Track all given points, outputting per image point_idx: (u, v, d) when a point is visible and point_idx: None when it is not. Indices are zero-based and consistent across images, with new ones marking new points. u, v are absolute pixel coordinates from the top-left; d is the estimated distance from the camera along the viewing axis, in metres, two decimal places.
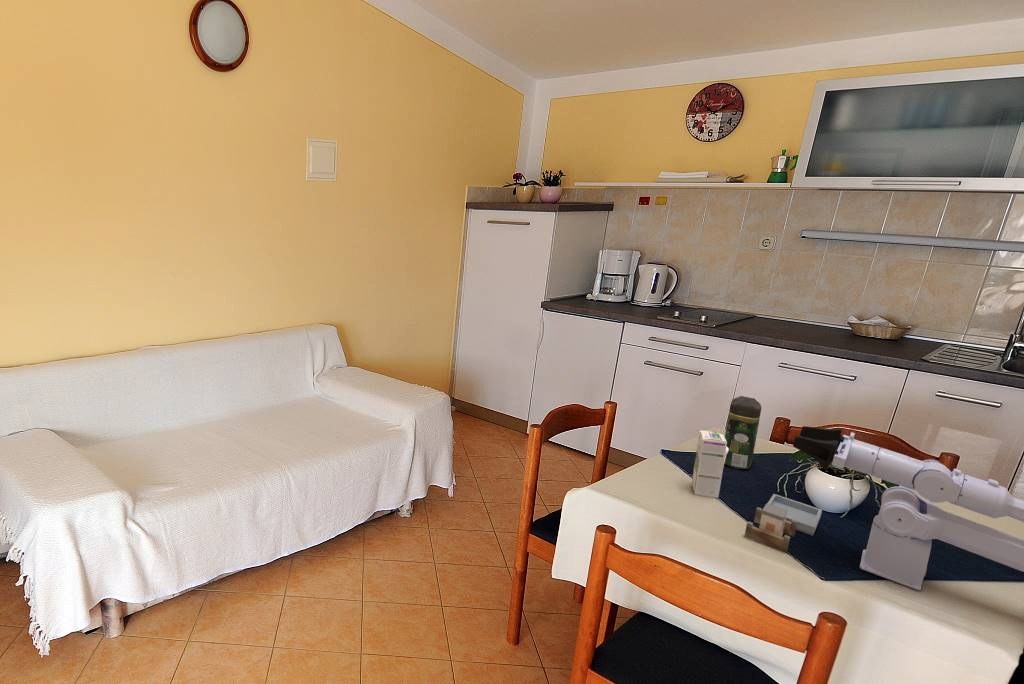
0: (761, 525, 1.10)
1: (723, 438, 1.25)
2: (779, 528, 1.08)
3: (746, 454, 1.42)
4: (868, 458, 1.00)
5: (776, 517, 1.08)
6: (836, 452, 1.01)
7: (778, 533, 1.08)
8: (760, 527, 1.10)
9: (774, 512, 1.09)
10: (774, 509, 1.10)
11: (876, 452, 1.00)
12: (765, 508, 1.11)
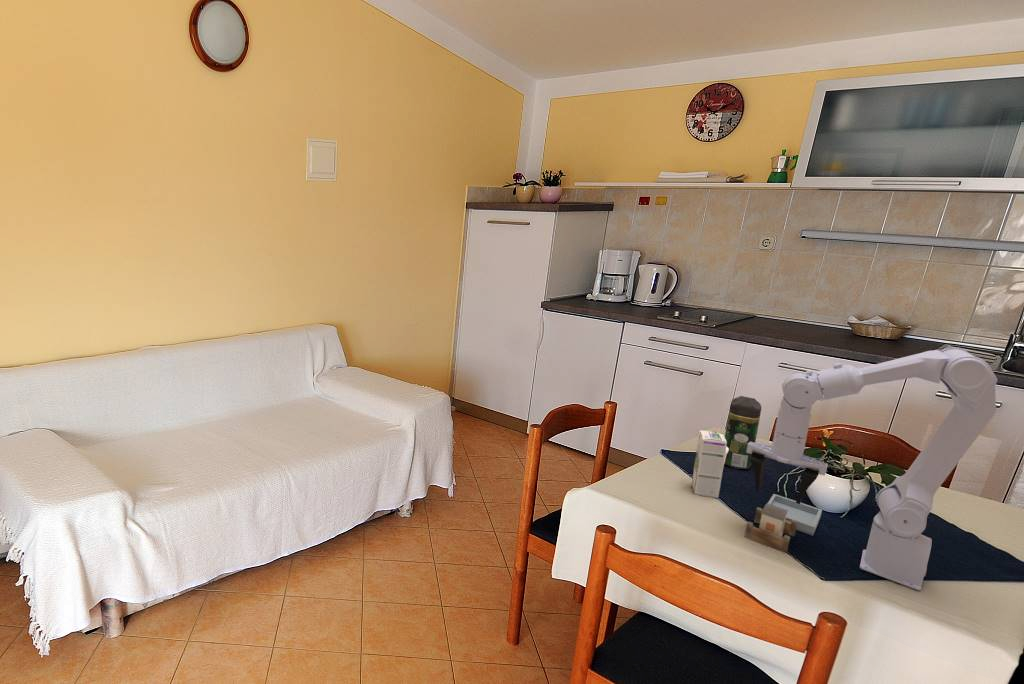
0: (761, 525, 1.10)
1: (723, 438, 1.25)
2: (779, 528, 1.08)
3: (746, 454, 1.42)
4: (803, 443, 1.04)
5: (776, 517, 1.08)
6: (810, 470, 1.04)
7: (778, 533, 1.08)
8: (760, 527, 1.10)
9: (774, 512, 1.09)
10: (774, 509, 1.10)
11: (797, 439, 1.04)
12: (765, 508, 1.11)
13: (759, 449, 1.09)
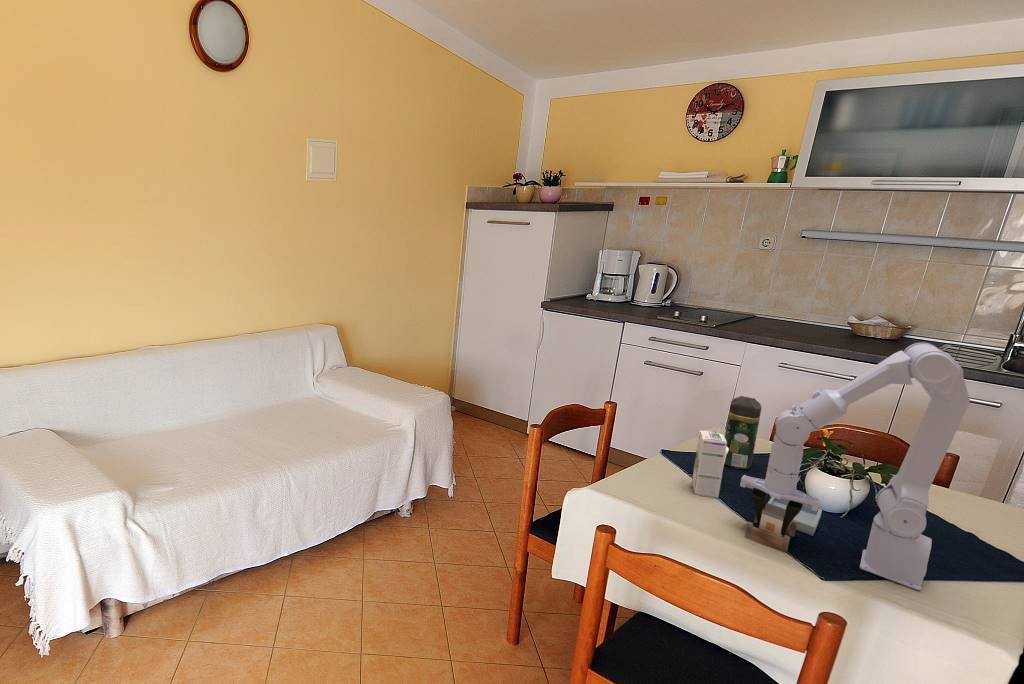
0: (761, 525, 1.10)
1: (723, 438, 1.25)
2: (779, 528, 1.08)
3: (746, 454, 1.42)
4: (795, 479, 1.06)
5: (776, 517, 1.08)
6: (802, 506, 1.06)
7: (778, 533, 1.08)
8: (760, 527, 1.10)
9: (774, 512, 1.09)
10: (774, 509, 1.10)
11: (789, 475, 1.05)
12: (765, 507, 1.11)
13: (752, 483, 1.11)
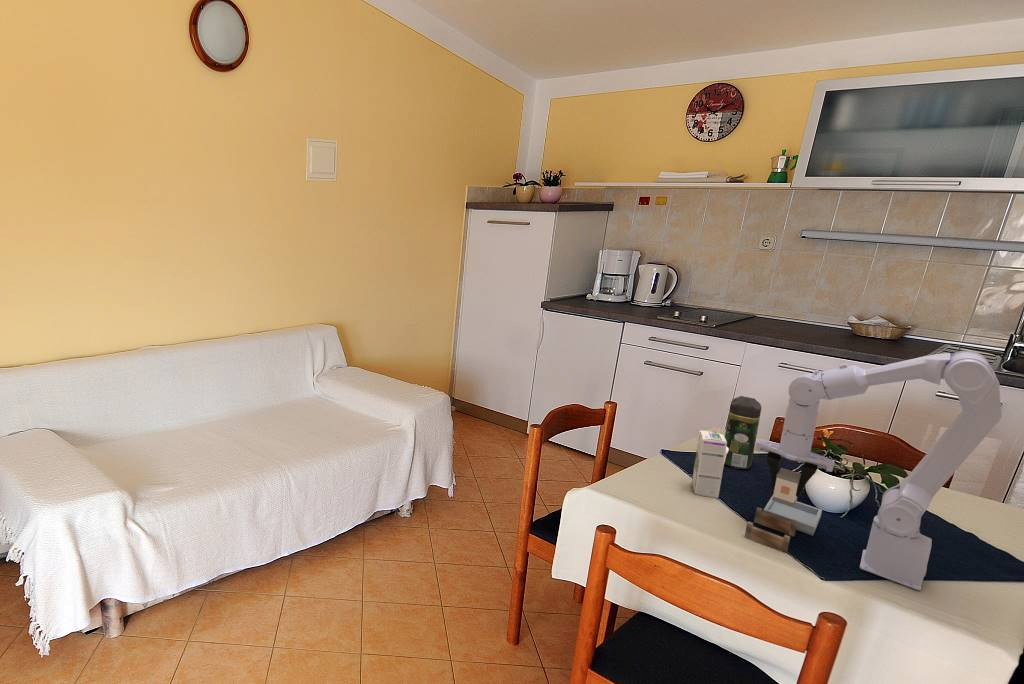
0: (775, 488, 1.12)
1: (723, 438, 1.25)
2: (794, 491, 1.09)
3: (746, 454, 1.42)
4: (810, 440, 1.08)
5: (791, 480, 1.10)
6: None
7: (793, 496, 1.10)
8: (775, 491, 1.12)
9: (788, 475, 1.11)
10: (788, 473, 1.12)
11: (805, 437, 1.07)
12: (779, 471, 1.12)
13: (767, 447, 1.12)
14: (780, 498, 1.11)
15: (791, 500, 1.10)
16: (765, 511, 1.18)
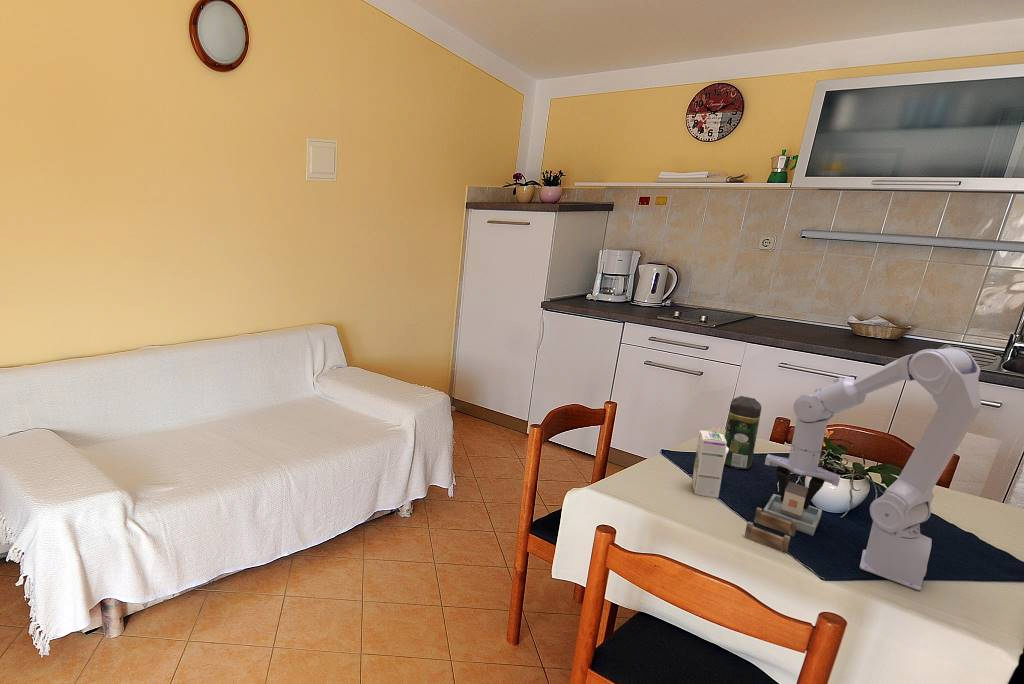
0: (784, 502, 1.18)
1: (723, 438, 1.25)
2: (801, 504, 1.16)
3: (746, 454, 1.42)
4: (817, 456, 1.14)
5: (799, 494, 1.16)
6: (824, 481, 1.14)
7: (800, 509, 1.16)
8: (783, 504, 1.18)
9: (796, 489, 1.17)
10: (796, 487, 1.18)
11: (812, 453, 1.13)
12: (788, 486, 1.18)
13: (777, 461, 1.19)
14: (788, 511, 1.18)
15: (798, 513, 1.16)
16: (765, 511, 1.18)
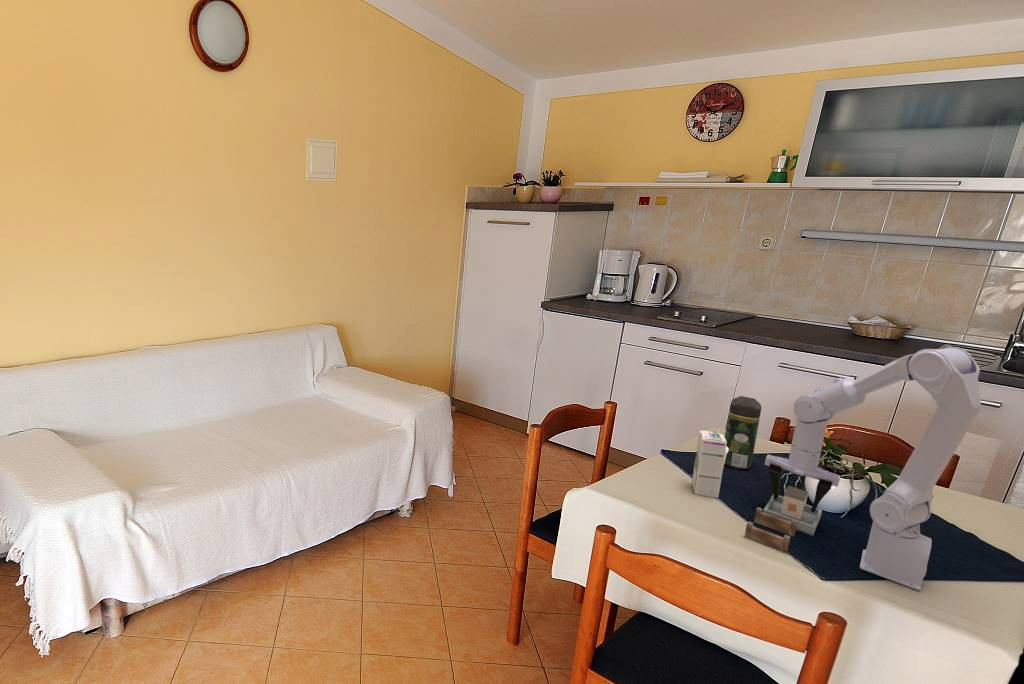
0: (783, 506, 1.18)
1: (723, 438, 1.25)
2: (801, 508, 1.16)
3: (746, 454, 1.42)
4: (817, 456, 1.14)
5: (798, 498, 1.16)
6: (824, 482, 1.14)
7: (800, 513, 1.16)
8: (782, 508, 1.18)
9: (795, 493, 1.17)
10: (795, 491, 1.18)
11: (812, 453, 1.13)
12: (787, 489, 1.19)
13: (777, 462, 1.19)
14: (787, 515, 1.18)
15: (798, 517, 1.17)
16: (765, 511, 1.18)
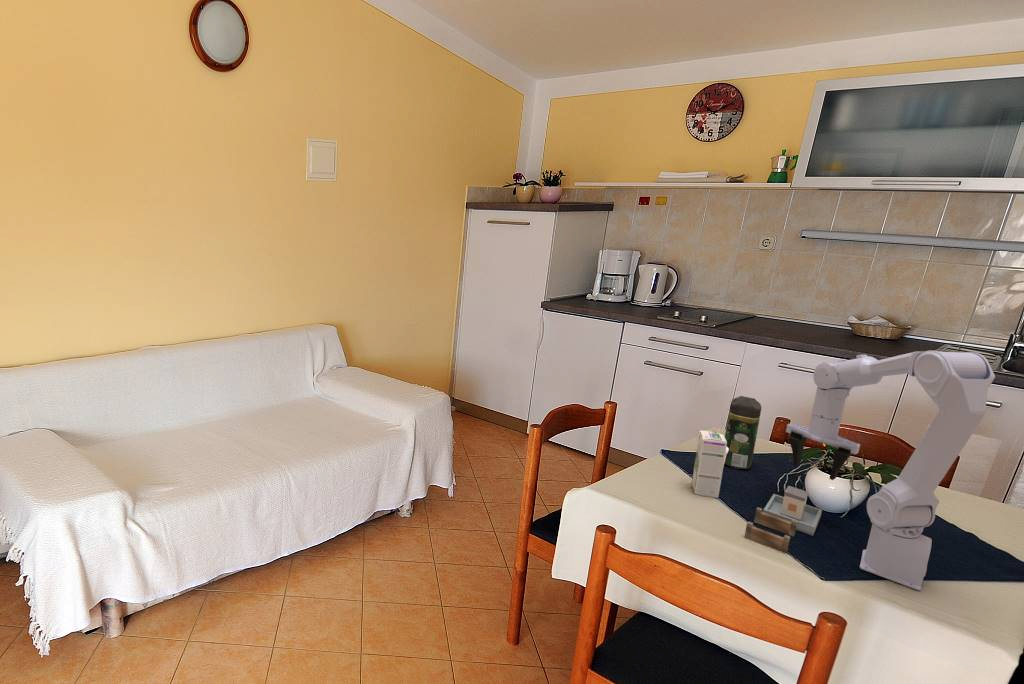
0: (783, 506, 1.18)
1: (723, 438, 1.25)
2: (801, 508, 1.16)
3: (746, 454, 1.42)
4: (836, 424, 1.16)
5: (798, 498, 1.16)
6: (843, 449, 1.15)
7: (800, 513, 1.16)
8: (782, 508, 1.18)
9: (795, 493, 1.17)
10: (795, 491, 1.18)
11: (830, 420, 1.16)
12: (787, 489, 1.19)
13: (797, 429, 1.22)
14: (787, 515, 1.18)
15: (798, 517, 1.17)
16: (765, 511, 1.18)
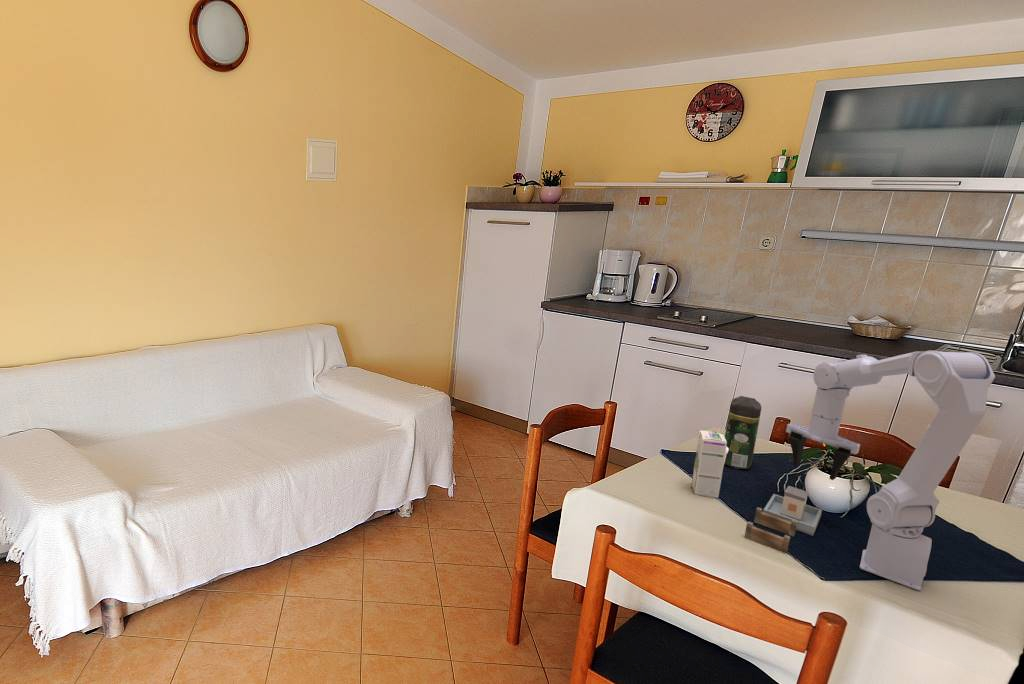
0: (783, 506, 1.18)
1: (723, 438, 1.25)
2: (801, 508, 1.16)
3: (746, 454, 1.42)
4: (836, 424, 1.16)
5: (798, 498, 1.16)
6: (843, 449, 1.15)
7: (800, 513, 1.16)
8: (782, 508, 1.18)
9: (795, 493, 1.17)
10: (795, 491, 1.18)
11: (830, 420, 1.16)
12: (787, 489, 1.19)
13: (797, 429, 1.22)
14: (787, 515, 1.18)
15: (798, 517, 1.17)
16: (765, 511, 1.18)
